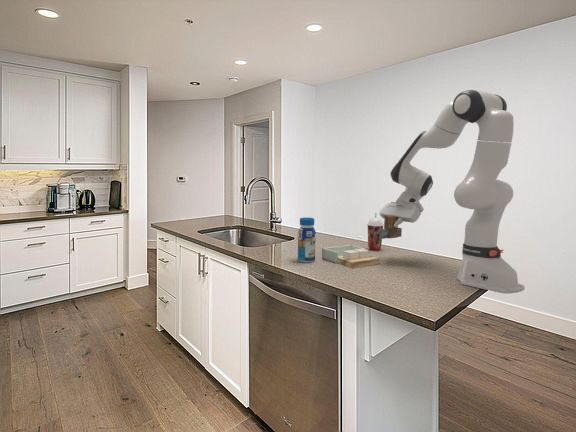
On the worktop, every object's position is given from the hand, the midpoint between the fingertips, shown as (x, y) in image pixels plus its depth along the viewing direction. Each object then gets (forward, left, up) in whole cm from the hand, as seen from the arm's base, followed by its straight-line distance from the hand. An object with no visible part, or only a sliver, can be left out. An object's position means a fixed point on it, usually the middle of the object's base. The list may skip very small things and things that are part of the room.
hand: (389, 225), depth 166 cm
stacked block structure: (0, -1, -5) cm, 5 cm away
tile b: (+8, +16, -15) cm, 23 cm away
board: (+6, +13, -17) cm, 22 cm away
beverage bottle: (+22, +31, -17) cm, 41 cm away
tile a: (+8, +10, -15) cm, 19 cm away
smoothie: (+25, -15, -17) cm, 34 cm away
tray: (+16, +13, -17) cm, 27 cm away
